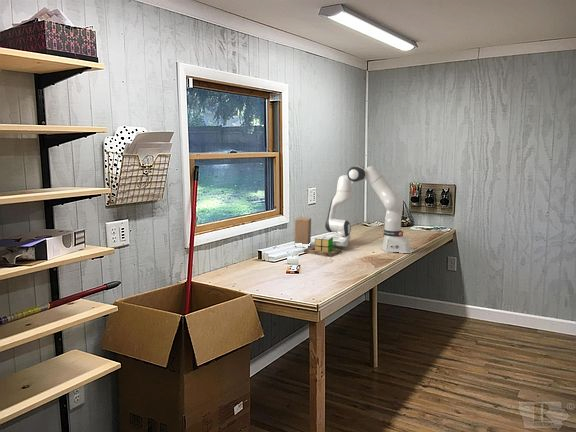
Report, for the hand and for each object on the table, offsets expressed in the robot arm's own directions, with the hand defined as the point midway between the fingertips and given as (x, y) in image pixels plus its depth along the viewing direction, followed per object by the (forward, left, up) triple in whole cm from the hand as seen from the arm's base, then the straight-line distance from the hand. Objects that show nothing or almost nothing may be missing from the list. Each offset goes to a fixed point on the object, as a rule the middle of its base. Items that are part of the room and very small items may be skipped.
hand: (327, 243), depth 345 cm
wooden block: (+21, -2, -5) cm, 22 cm away
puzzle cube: (0, +6, -5) cm, 8 cm away
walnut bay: (0, +7, -5) cm, 8 cm away
